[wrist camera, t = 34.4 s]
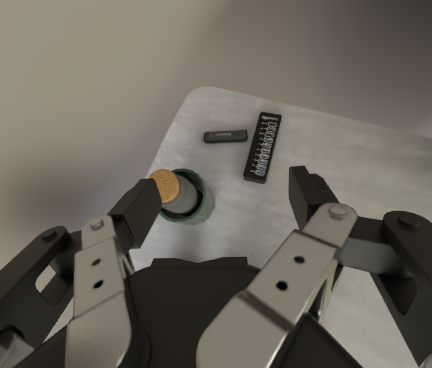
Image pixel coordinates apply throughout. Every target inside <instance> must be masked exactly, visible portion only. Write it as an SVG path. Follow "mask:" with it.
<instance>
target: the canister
mask: <svg viewBox="0 0 432 368" xmlns="http://www.w3.org/2000/svg"><path fill="white" fill-rule="evenodd" d="M171 172H172V173H175V174H177V175H179V176H182V177H184V178H185V179H187V180H188V181H189V182H190V183H191V184H192V185H194V186H195V187H196V188H197V189H198V190H199V191H200V192H201V193H202V194H203V199H202V203H201V205H200V207H199V208H198V209H197V211H196V212H195V213H193V214H192V215H191V216H189V217H187V216H183V215H180V214H177V213H174V212H171V211H168V210H166V209H164V208H163V207H162V208H161V210H160V212H159V214H160V215H161V216H162V217H163V218H165V219H166V220H169V221H172V222H175V223H180V224H185V225H197V224H200V223H202V222H204V221H205V220H206V219H207V218H208V217H209V216H210V215H211V213H212V211H213V208H214V202H215V201H214V195H213V192H212V190H211V189H210V188H209V186H208V185H207V184H206V183H205V182H204V180H203V179H202V178H201V177H200V176H199V175H198V174H197V173H195V172H194V171H192V170H188V169H184V168H183V169H175V170H173V171H171Z"/></svg>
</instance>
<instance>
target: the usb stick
mask: <svg viewBox="0 0 432 368" xmlns="http://www.w3.org/2000/svg"><path fill="white" fill-rule="evenodd" d="M247 138H248V137H247V131H246V130H237V131H218V132H206V133H204V142H206V143H219V142H242V141H246V140H247Z"/></svg>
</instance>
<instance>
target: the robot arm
mask: <svg viewBox="0 0 432 368" xmlns="http://www.w3.org/2000/svg"><path fill="white" fill-rule="evenodd" d="M289 200H290V204H291V206H292V209H293V212H294V215H295V218H296V221H297V224H298V227H299V230H300V231H299V230H297V229H294V230H293V231H292V232H291V233H290V234H289V236H288V237H287V238H286V239H285V241H284V242H283V243H282V244H281V246H280V247H279V248H278V249H277V251H276V252H275V253H274V254H273V256H272V257H271V258H270V259H269V261H268V262H267V263H266V264H265V265H264V267H263V268H262V269H259V268H257V267H254V266H251V265H248V262H247V257H222V258H218V259H214V260H209V261H205V262H201V263H194V262H190V261H185V260H181V259H177V258H155V259H153V261H152V264H151V266H150V267H146V268H143V269H141V270H139V271H137V272H136V271H135V268H134V265H133V261H132V258H131V255H130V253H129V250H130V249H137V248H140V247H141V245H142V244H143V242H144V240H145V238H146V236H147V234H148V232H149V231H150V229H151V227H152V225H153V223H154V221H155V219H156V218H157V216H158V214H159V212H160V210H161V208H162V199H161V196H160V193H159V190H158V187H157V184H156V181H155V180H154V179H153V178H149V179H141V180H139V182H138V183H137V184H136V185H135V186H134V187H133V188H132V189H130V190H129V191H127V192H126V193H125V194H124V196H123V197H122V198H121V199H120V200H119V201H118V203H117V204H116V205H115V206H114V207H113V208H112V209H111V210H110V212H109V213H108V214H107V215H102V216H98V217H95V218H93V219H91V220H90V221H88V222H87V223H86V224H85V225H84V226H83V227H82V230H80V231H77V232H73V233H69V232H68V231H67V229H66V228H65V227H64V226H57V227H53V228H51V229H48V230H47V231H45V232H43V233H41V234H40V235H39V236H37V237H36V238H35V239H34V240H33V241H32V242H31V243H30V244H29V245H28V246H26V247H25V248H24V249H23V250H22V251H21V252H20V253H19V254H18V255H17V256H16V257H14V258H13V259H12V260H11V261H10V262H9V263H8V264H7V265H6V266H5V267H4V268H3V269H1V270H0V368H363V367H362V366H361V365H360V364H359V363H358V362H357V361H356V360H355V359H354V358H353V357H352V356H351V355H350V354H349V353H348V352H347V351H346V350H345V349H344V348H343V347H342V346H341V345H340V344H339V343H338V342H337V341H336V340H335V339H334V338H333V337H332V336H331V335H330V334H329V333H328V331H327V330H326V329H325V328H324V327H323V326H322V325H321V323H322V321H323V318H324V316H325V313H326V311H327V308H328V304H329V302H330V299H331V297H332V294H333V292H334V290H335V288H336V286H337V284H338V282H339V280H340V277H341V275H342V273H343V271H344V269H345V267H351V268H355V269H359V270H363V271H367V272H369V273H370V275H371V277H372V278H373V280H374V282H375V284H376V286H377V288H378V290H379V292H380V294H381V296H382V298H383V300H384V301H385V303H386V305H387V307H388V309H389V311H390V313H391V315H392V317H393V319H394V321H395V323H396V324H397V326H398V328H399V330H400V332H401V334H402V336H403V338H404V340H405V342H406V344H407V346H408V347H409V349H410V351H411V353H412V355H413V357H414V359H415V361H416V363H417V365H418V367H419V368H432V223H431V222H430V221H429V220H427V219H425V218H424V217H422V216H419V215H417V214H414V213H410V212H406V211H390V212H388V213H386V214H385V215H384V217H383V220H377V219H370V218H364V217H360V216H358V215H357V213H356V211H355V210H354V209H353V208H351V207H349V206H347V205H345V204H341V203H339V201H338V200H337V198H336V197H335V195H334V194H333V192H332V191H331V189H330V188H329V186H328V185H327V184H326V182H325V181H324V179H323V178H322V177H320V176H319V175H317V174H309V172H308V171H307V169H306V167H305V166H294V167H290V168H289ZM48 265H50V266H51V267H52V268H53V270H54V271H55V272H56V274H55V276H54V277H53V278H52V279H51V281H50V282H49V283H48V284H47V286H46V287H45V288H44V289H43V290H42V292H41V293H40V292H39V291H38V290H37V289H36V286H35V283H36V280H37V278H38V276H39V275H40V274H41V273H42V272H43V270H45V268H46V267H47V266H48ZM73 296H74V299H73V317H72V319H71V320H70V321H69V323H68V324H67V325H66V326H65V327H63V328H62V329H61V330H59V331H58V332H57V333H56V334H54V335H53V336H52V337H51V338H50V339H48V340H47V341H45V342H44V340H45V339H46V337H47V336H48V334H49V333H50V331H51V330H52V328H53V327H54V325H55V324H56V322H57V320H58V319H59V317H60V316H61V314H62V313H63V311H64V310H65V308H66V307H67V305H68V304H69V302H70V301H71V299H72V298H73ZM43 342H44V343H43ZM42 343H43V344H42Z"/></svg>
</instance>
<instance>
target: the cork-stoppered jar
mask: <svg viewBox="0 0 432 368" xmlns="http://www.w3.org/2000/svg"><path fill="white" fill-rule="evenodd" d="M149 178H153V179H154V180H155V181H156V184H157V187H158V190H159V193H160V196H161V199H162V207H163V208H164V209H166V210H168V211H171V212H174V213H177V214H180V215H183V216H187V217H189V216H191V215H192V214H193V213H195V212H196V211H197V209H198V208H199V207H200V205H201V203H202V199H203V194H202V193H201V192H200V191H199V190H198V189H197V188H196V187H195V186H194V185H192V184H191V183H190V182H189V181H188V180H187V179H185V178H184V177H182V176H179V175H177V174H175V173H172V172H171V171H169V170H165V169H161V170H157V171H155V172H154V173H152V174H151V175H150V176H149ZM149 178H148V179H149Z"/></svg>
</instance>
